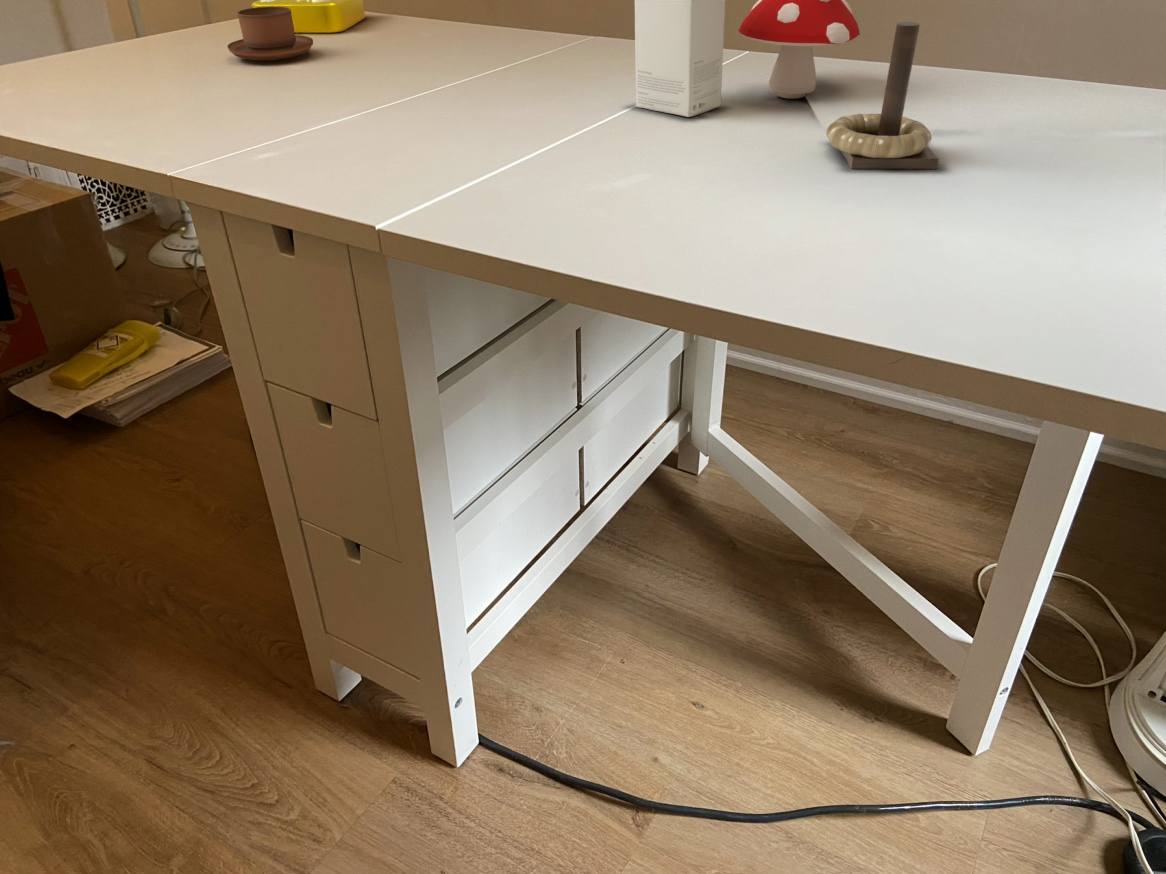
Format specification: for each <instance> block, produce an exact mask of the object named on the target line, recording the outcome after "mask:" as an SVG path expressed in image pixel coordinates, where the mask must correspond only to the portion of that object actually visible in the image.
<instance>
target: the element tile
mask: <svg viewBox="0 0 1166 874" xmlns="http://www.w3.org/2000/svg"><path fill="white" fill-rule="evenodd" d="M256 7H287V8H290V9H291V14H292V20H293V26H294V31H295V34H334V33H342V32H344V31H347V30H348V29H349V28H350V29H351V27H353V26H354V25H357V24H358V23H360V22H361V21H363V20H364V19H365V18H366V13H365V12H366V11H365V5H364V0H256V1H253V2H252V3H251V8H256Z"/></svg>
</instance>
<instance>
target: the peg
mask: <svg viewBox="0 0 1166 874" xmlns="http://www.w3.org/2000/svg"><path fill="white" fill-rule="evenodd" d="M920 27H921V25H920V23H918V22H914V21H900V22H899V21H898V22H897V23H896V26H895V32H894V39H893V44H892V49H891V54H890V61H889V65H888V72H887V78H886V84H885V89H884V90H885V91H884V94H883V100H882V106H881V111H880V114H881V117H880V123H879V129H878V134H877V135H876V136H899V132H900V127H901V122H902V117H904V111H905V106H906V100H907V94H908V91H909V84H910V78H911V73H912V68H913V65H914V64H913V63H914V58H915V52H916V47H917V43H918V42H917V41H918V36H919V31H920ZM839 151H840V153H841V154H842V156H843V157H844V159H845V161H846V162H847V164H848V166H849V167H850V170H851V169H852V170H855V169H857V170H870V169H871V170H937V168H938V163H939V158H938V156H937V155H936V154H935V153H934V151H932V150H931V148H930V147H929V145H928V146H927V147H926V148H925V149H924V150H923V151H922V152H920V153H919V154H916V155H911V156H906V157H901V158H870V157H864V156H858V155H852V154H849V153H846V152H844V151H841V150H839Z"/></svg>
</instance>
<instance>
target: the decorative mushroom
mask: <svg viewBox="0 0 1166 874" xmlns="http://www.w3.org/2000/svg"><path fill="white" fill-rule="evenodd" d="M737 31H738V33H740V35H741V36H742V37H744V38H746V39H748V40H751V41H753V42H758V43H763V44H769V45H777V46H781V47H780V50H779V52H778V55H777V58H776V60H775V63H774V66H773V67H772V70H771V74H770V77H769V82H768V86H769V87H768V89H770V91H771V92H772V94H773V95H775V96H777V97H780V98H783V99H789V100H791V99H792V100H794V99H802V98H805V97H806V94H810V93H813V92H814V91H815V90H816V85H817V74H816V73H817V72H816V65H815V59H814V51H813V47H818V46H819V47H820V46H821V47H823V46H832V45H842V44H844V43H848V42H850V41H852V40H853V41H854V39H856V38H857V37H858V36H860V35H861V33H860V28H859V24H858V23H857V20H856V18H855V16H854V15H853V10H852V8H851V6H850V4H849V2H848V1H846V0H757V1H756V2H755V3H754V5H753V6H752V7H751V10H750V11H749V13H748V14H747V16H745V18H744V19H743V20H742V22H741V24H740V26H739V28H738V30H737Z"/></svg>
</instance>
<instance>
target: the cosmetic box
mask: <svg viewBox="0 0 1166 874" xmlns="http://www.w3.org/2000/svg"><path fill="white" fill-rule="evenodd" d="M725 13H726V0H634V53H635V54H634V56H635V57H634V58H635V59H634V61H635V63H634V64H635V66H634V67H635V107H636V108H640V109H645V110H650V111H656V112H661V113H666V114H671V115H677V116H682V117H687V118H690V117H694V116H698V115H700V114H704V113H706V112H709V111H711V110H714V109H715V108H716V109H717V108H719V107H720V106H721V105H722V88H723V87H722V86H723V63H724V60H723V59H724V38H725V36H724V35H725V17H726V16H725Z"/></svg>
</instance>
